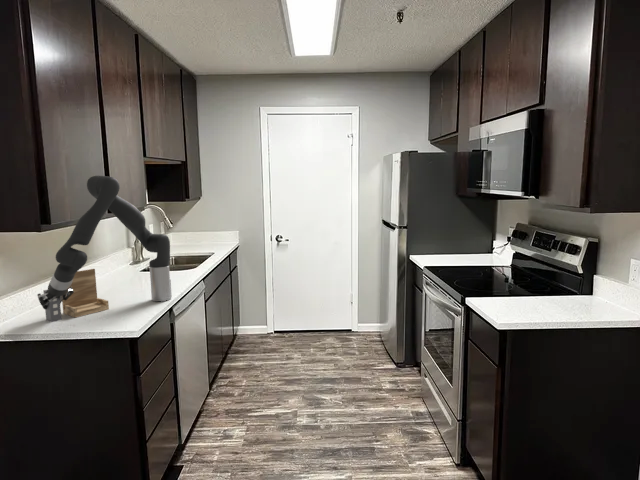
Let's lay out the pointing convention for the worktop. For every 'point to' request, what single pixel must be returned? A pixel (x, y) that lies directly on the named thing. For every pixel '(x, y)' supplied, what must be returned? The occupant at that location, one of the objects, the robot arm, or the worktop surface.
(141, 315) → the worktop surface
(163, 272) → the robot arm
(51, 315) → the power strip
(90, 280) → the wooden angled stand
